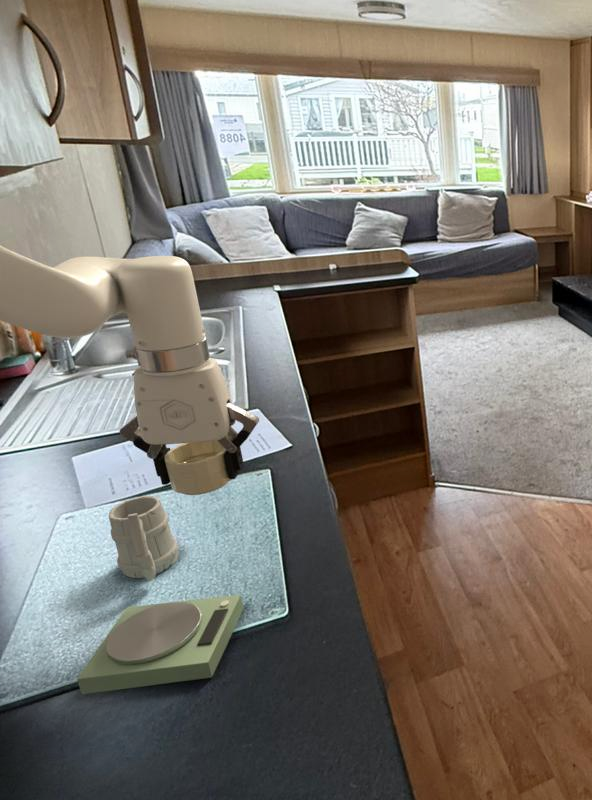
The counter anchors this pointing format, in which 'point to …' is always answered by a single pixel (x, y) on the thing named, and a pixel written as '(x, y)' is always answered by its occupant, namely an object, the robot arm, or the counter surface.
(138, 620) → the platform
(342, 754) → the counter surface
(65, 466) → the counter surface
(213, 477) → the bowl
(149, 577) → the mug
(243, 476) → the counter surface
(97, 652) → the scale
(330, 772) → the counter surface
